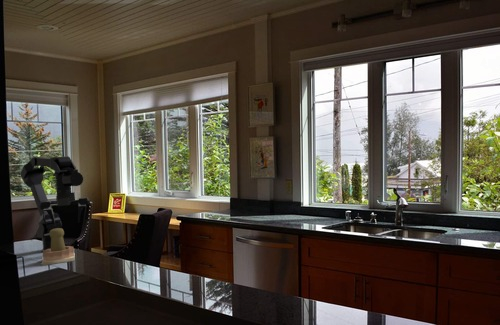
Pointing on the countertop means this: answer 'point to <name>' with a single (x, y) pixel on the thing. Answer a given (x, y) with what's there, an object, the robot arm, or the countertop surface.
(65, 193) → the robot arm
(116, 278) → the countertop surface
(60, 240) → the cork
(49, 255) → the socket board
